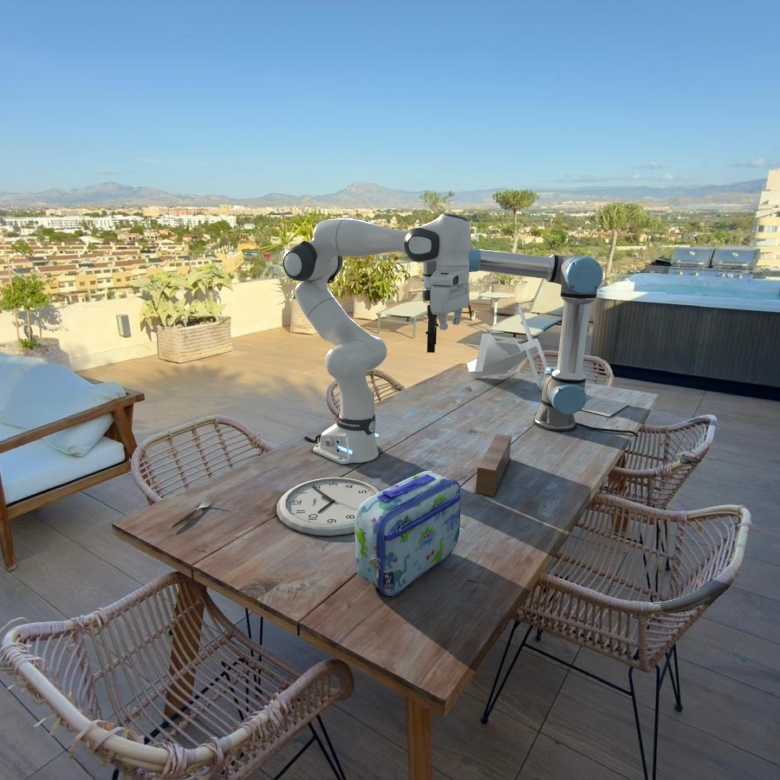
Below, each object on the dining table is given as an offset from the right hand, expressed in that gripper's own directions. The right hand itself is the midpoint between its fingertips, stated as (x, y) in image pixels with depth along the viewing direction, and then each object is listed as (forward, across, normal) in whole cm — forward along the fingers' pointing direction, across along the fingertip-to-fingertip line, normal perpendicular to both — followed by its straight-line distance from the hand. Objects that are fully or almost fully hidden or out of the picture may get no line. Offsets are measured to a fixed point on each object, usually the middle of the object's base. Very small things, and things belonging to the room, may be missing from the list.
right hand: (431, 348), depth 188 cm
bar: (+32, +35, +22) cm, 52 cm away
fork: (+31, +71, -58) cm, 97 cm away
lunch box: (+31, +86, 0) cm, 91 cm away
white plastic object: (+32, -66, +34) cm, 81 cm away
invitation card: (+32, -38, +73) cm, 88 cm away
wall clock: (+31, +61, -24) cm, 72 cm away
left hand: (-15, +39, +6) cm, 43 cm away
